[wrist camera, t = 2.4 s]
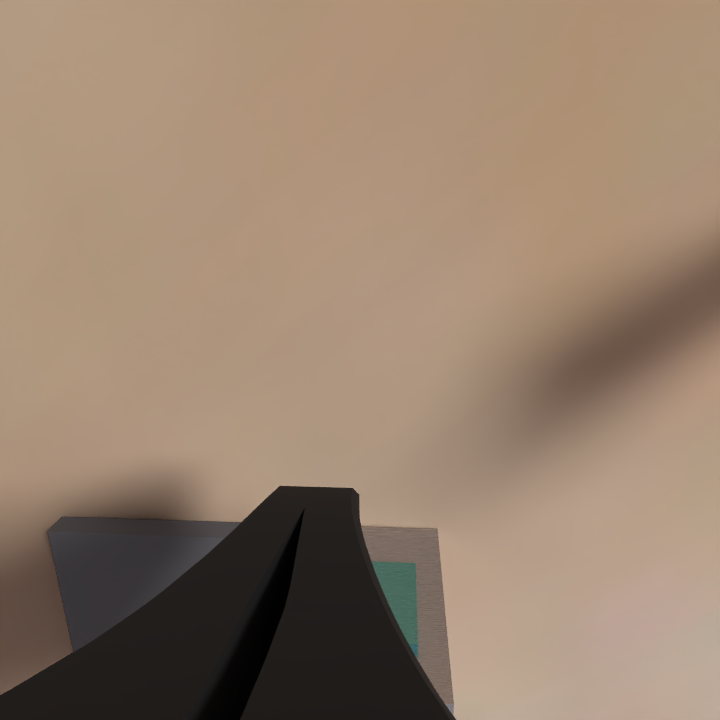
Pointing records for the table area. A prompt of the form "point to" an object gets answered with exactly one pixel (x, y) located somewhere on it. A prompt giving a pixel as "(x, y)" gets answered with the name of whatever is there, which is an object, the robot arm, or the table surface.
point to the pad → (122, 565)
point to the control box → (415, 595)
